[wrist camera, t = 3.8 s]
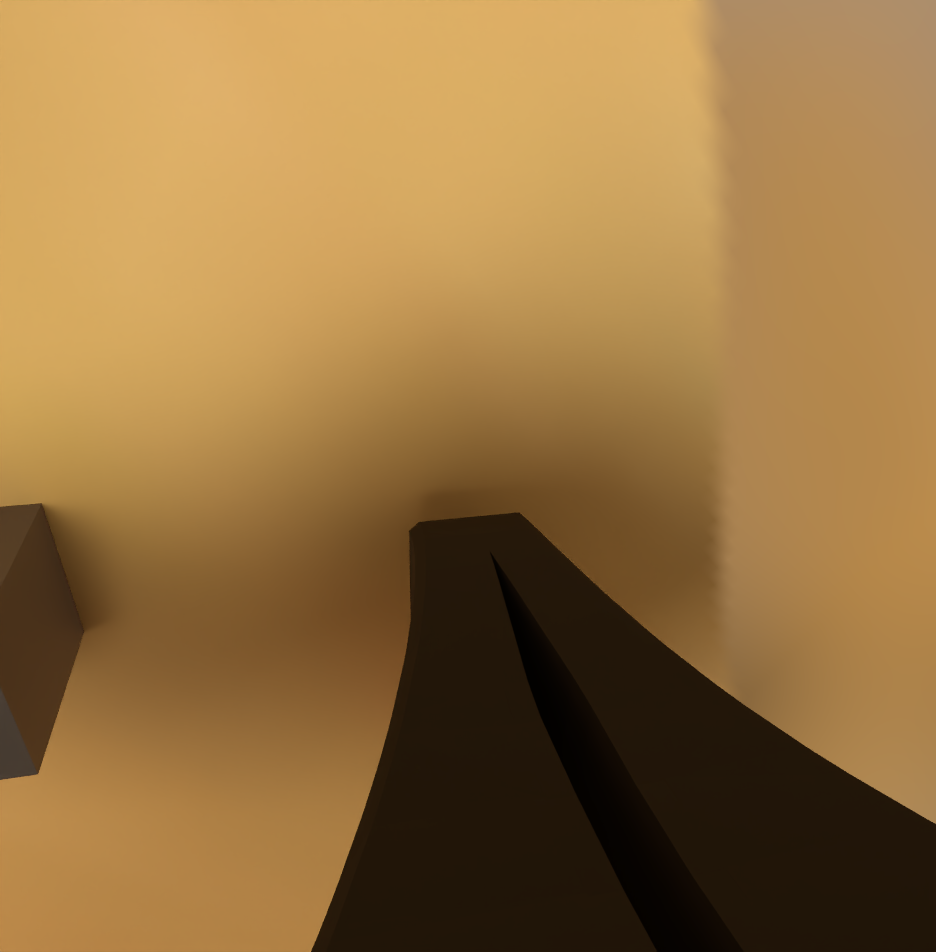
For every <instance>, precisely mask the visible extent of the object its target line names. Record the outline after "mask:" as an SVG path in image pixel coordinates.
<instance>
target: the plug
mask: <svg viewBox="0 0 936 952" xmlns="http://www.w3.org/2000/svg"><path fill="white" fill-rule="evenodd" d="M83 633H84V630H83V627H82V624H81V621H80V618H79V615H78V612H77V609H76V605H75V602H74V599H73V596H72V593H71V590H70V587H69V584H68V581H67V578H66V575H65V572H64V569H63V566H62V563H61V560H60V557H59V554H58V551H57V548H56V545H55V542H54V539H53V536H52V533H51V530H50V527H49V524H48V521H47V518H46V515H45V512H44V509H43V506H42V503H41V504H29V505H17V506H5V507H0V780H2V779H9V778H16V777H23V776H30V775H36V774H38V773H39V770H40V766H41V763H42V760H43V757H44V754H45V751H46V748H47V745H48V742H49V739H50V735H51V732H52V729H53V726H54V723H55V720H56V717H57V714H58V711H59V708H60V704H61V701H62V698H63V695H64V692H65V689H66V686H67V683H68V680H69V677H70V673H71V670H72V667H73V664H74V661H75V658H76V655H77V652H78V649H79V646H80V643H81V639H82V636H83Z"/></svg>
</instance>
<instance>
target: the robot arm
mask: <svg viewBox="0 0 936 952" xmlns="http://www.w3.org/2000/svg"><path fill="white" fill-rule="evenodd" d="M409 544H410V601H411V622H410V629H409V636H408V643H407V649H406V655H405V660H404V665H403V669H402V674H401V678H400V682H399V687H398V691H397V696H396V700H395V704H394V709H393V713H392V717H391V721H390V725H389V729H388V733H387V736H386V740H385V743H384V747H383V751H382V754H381V758H380V761H379V764H378V768H377V771H376V774H375V777H374V781H373V784H372V787H371V790H370V793H369V796H368V800H367V803H366V806H365V809H364V812H363V815H362V818H361V821H360V824H359V826H358V829H357V832H356V835H355V838H354V840H353V843H352V846H351V849H350V852H349V854H348V857H347V860H346V863H345V866H344V868H343V871H342V874H341V877H340V880H339V883H338V885H337V888H336V890H335V893H334V896H333V898H332V901H331V903H330V906H329V909H328V911H327V914H326V916H325V919H324V921H323V924H322V927H321V929H320V932H319V934H318V937H317V939H316V941H315V944H314V946H313V948H312V951H311V952H936V824H935V823H933V822H931V821H929V820H927V819H926V818H924V817H922V816H920V815H919V814H917V813H915V812H914V811H912V810H910V809H908V808H907V807H905V806H903V805H902V804H900V803H898V802H897V801H895V800H893V799H891V798H890V797H888V796H886V795H884V794H883V793H881V792H879V791H878V790H876V789H874V788H873V787H871V786H869V785H867V784H866V783H864V782H862V781H861V780H859V779H857V778H856V777H854V776H852V775H850V774H849V773H847V772H846V771H844V770H842V769H841V768H839V767H837V766H836V765H834V764H833V763H831V762H829V761H828V760H826V759H824V758H823V757H821V756H820V755H818V754H817V753H815V752H813V751H812V750H810V749H809V748H807V747H805V746H804V745H803V744H801V743H800V742H798V741H797V740H795V739H794V738H792V737H791V736H789V735H788V734H786V733H785V732H783V731H782V730H780V729H779V728H777V727H776V726H775V725H773V724H771V723H770V722H769V721H767V720H766V719H764V718H763V717H761V716H760V715H758V714H757V713H755V712H754V711H752V710H751V709H749V708H748V707H746V706H745V705H743V704H742V703H741V702H739V701H738V700H737V699H735V698H734V697H732V696H731V695H730V694H728V693H727V692H725V691H724V690H723V689H721V688H720V687H719V686H717V685H716V684H715V683H713V682H712V681H711V680H709V679H708V678H707V677H705V676H704V675H703V674H702V673H700V672H699V671H698V670H696V669H695V668H694V667H693V666H691V665H690V664H689V663H687V662H686V661H685V660H684V659H682V658H681V657H680V656H678V655H677V654H676V653H675V652H673V651H672V650H671V649H669V648H668V647H667V646H666V645H664V644H663V643H662V642H661V641H660V640H658V639H657V638H656V637H655V636H654V635H652V634H651V633H650V632H649V631H648V630H646V629H645V628H644V627H643V626H642V625H641V624H640V623H638V622H637V621H636V620H635V619H634V618H633V617H632V616H630V615H629V614H628V613H627V612H626V611H625V610H624V609H622V608H621V607H620V606H619V605H618V604H617V603H616V602H614V601H613V600H612V599H611V598H610V597H609V596H608V595H606V594H605V593H604V592H603V591H602V590H601V589H600V588H599V587H598V586H597V585H595V584H594V583H593V582H592V581H591V580H590V579H589V578H588V577H587V576H586V575H585V574H584V573H583V572H582V571H580V570H579V569H578V568H577V567H576V566H575V565H574V564H573V563H572V562H571V561H570V560H569V559H568V558H567V557H566V556H565V555H564V554H562V553H561V552H560V551H559V550H558V549H557V548H556V547H555V546H554V545H553V544H552V543H551V542H550V541H549V540H548V539H547V538H546V537H545V536H544V535H543V534H542V533H541V532H540V531H539V530H537V529H536V528H535V527H534V526H533V525H532V524H531V523H530V522H529V521H528V520H527V519H526V518H525V517H524V516H522V515H521V514H520V513H509V514H499V515H488V516H478V517H467V518H457V519H447V520H436V521H426V522H418V523H417V524H416V525H415V526H414V527H413V528H412V529H411V530H410V531H409Z"/></svg>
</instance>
